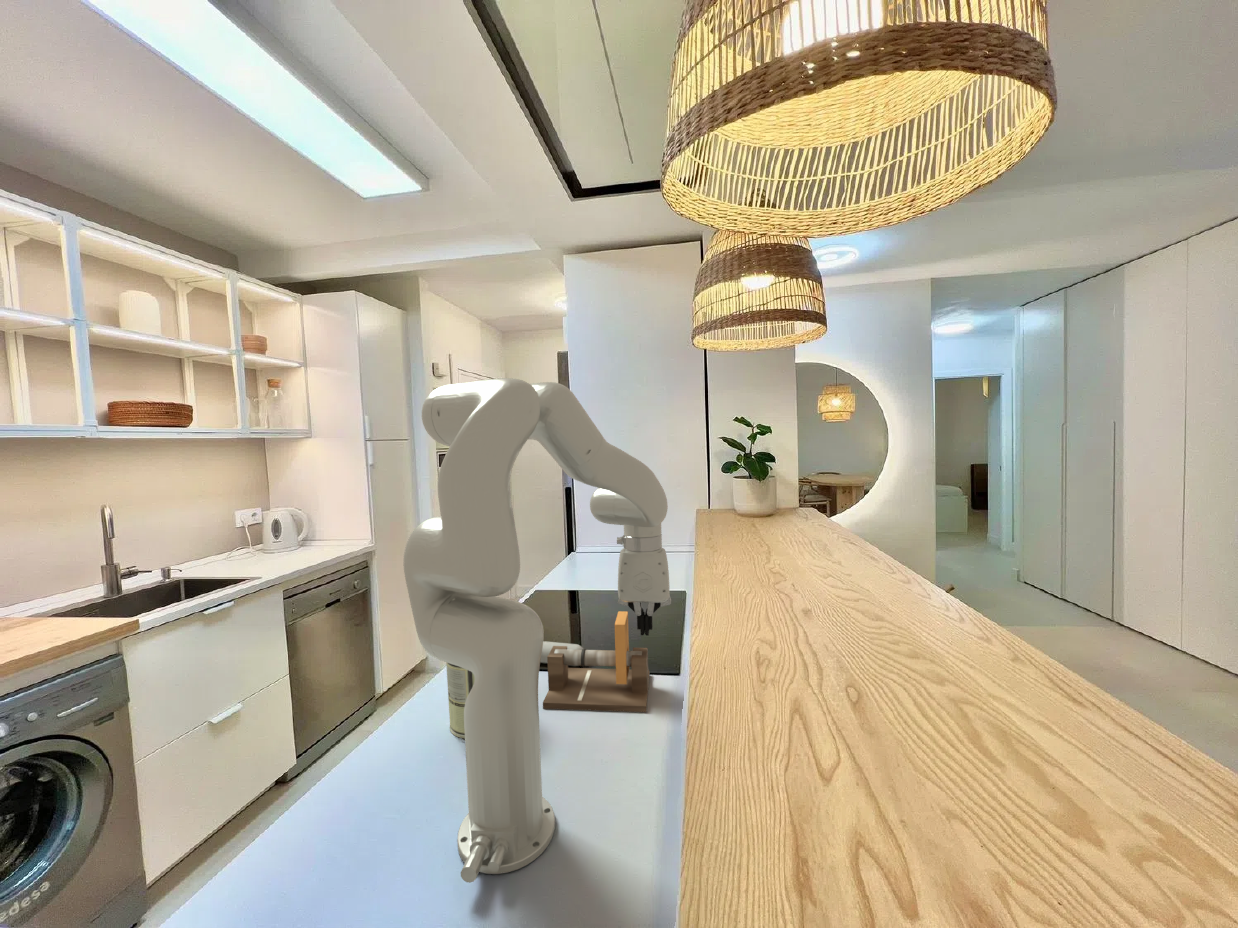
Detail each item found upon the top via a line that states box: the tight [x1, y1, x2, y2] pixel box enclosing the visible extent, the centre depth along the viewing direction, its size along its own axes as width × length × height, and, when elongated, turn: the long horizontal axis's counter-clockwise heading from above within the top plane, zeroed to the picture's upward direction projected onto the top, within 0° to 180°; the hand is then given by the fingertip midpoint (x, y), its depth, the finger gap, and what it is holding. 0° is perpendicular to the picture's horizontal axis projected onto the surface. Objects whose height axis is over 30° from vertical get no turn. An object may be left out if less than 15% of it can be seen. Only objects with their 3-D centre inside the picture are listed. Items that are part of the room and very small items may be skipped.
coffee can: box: [445, 662, 475, 739], centre depth 89 cm, size 10×10×14 cm
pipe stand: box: [542, 646, 650, 713], centre depth 99 cm, size 14×20×9 cm
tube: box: [540, 640, 584, 668], centre depth 114 cm, size 5×5×25 cm
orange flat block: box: [614, 610, 630, 684], centre depth 98 cm, size 7×2×12 cm, turn 174°
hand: (645, 632), depth 97 cm, fingers closed
